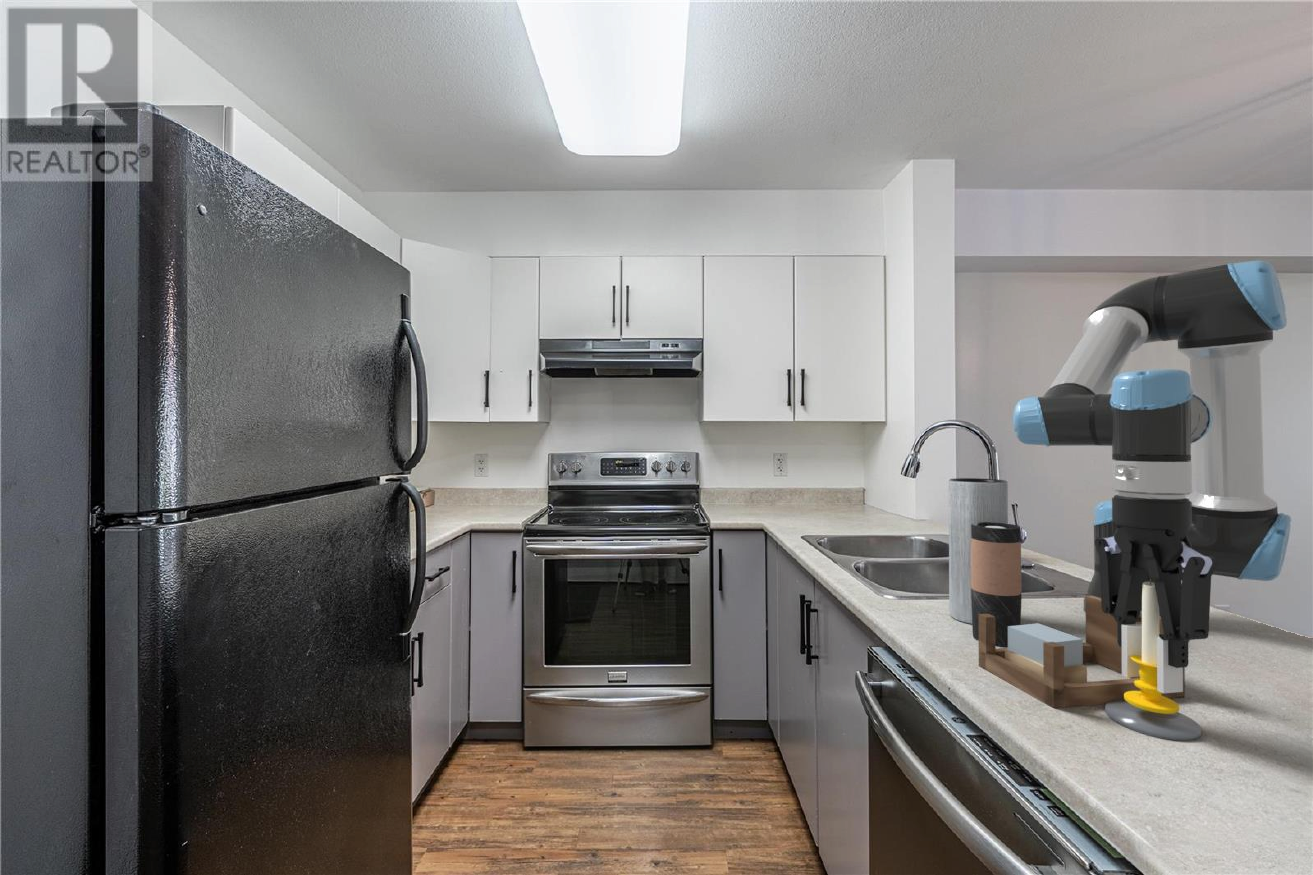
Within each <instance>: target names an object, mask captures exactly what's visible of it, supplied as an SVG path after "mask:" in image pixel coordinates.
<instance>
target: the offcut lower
mask: <svg viewBox="0 0 1313 875" xmlns="http://www.w3.org/2000/svg"><path fill="white" fill-rule="evenodd" d="M1004 648H1005V659H1006V660H1008V661H1010V662H1012V663H1013V664H1015V665H1017V666H1019V667H1021V668H1023V669H1025V670H1027V671H1029V672H1031V673H1033V674H1035V675H1037V676H1039V677H1041V678H1043V679H1044V671H1043V665H1042V664H1040V663H1037V662H1035V661H1033V660H1030V659H1028V658H1026V657H1023V656H1021V655H1019V654H1016V653H1014V652H1012V651H1009V650H1008V647H1004ZM1079 682H1088V666H1087V665H1085V664H1080V665H1072V666H1064V684H1065V683H1079Z"/></svg>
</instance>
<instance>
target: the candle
mask: <svg viewBox="0 0 1313 875" xmlns="http://www.w3.org/2000/svg"><path fill="white" fill-rule="evenodd" d="M1157 637H1159V605H1158V600H1157V595H1156V590H1155V584H1154V582H1151V579H1150V582H1143V587H1142V655H1134V656H1131V659H1132V660H1133V661H1135V662H1137V663H1139V667H1140V670H1139V675H1140V679H1137V680H1135V681H1134V685H1135V686H1136V687H1138V688H1140V689H1141V690H1140V691H1128V692H1125V693H1124V699H1125V700H1126V701H1127V702H1128V703H1129V704H1131V705H1133V706H1135V707H1138V708H1140V709H1143V710H1147V711H1151V712H1155V713H1162V714H1174V713H1177V712H1179V711H1180V706H1179V704H1178V703H1177V702H1175V701H1174V700H1173V699H1172V698H1171V699H1169V698H1166V697H1164V696H1162V695H1161V692H1159V691H1157Z"/></svg>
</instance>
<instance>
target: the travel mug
mask: <svg viewBox="0 0 1313 875" xmlns="http://www.w3.org/2000/svg"><path fill="white" fill-rule="evenodd" d="M1021 536H1022V532H1021V526H1019V525H1017V524H1012V523H1008V524H1006V523H994V522H980V523H978V524H977V525H973V524H971V604H972V624H971V627H972V637H973V638H974V639H975V640H977V641H978V642H979V614H990V615H992V616H994V617H995V644H996V647H1003V648H1008V626H1016V625H1022V624H1021V623H1022V592H1023V591H1022V590H1023V589H1022V587H1023V585H1022V537H1021Z"/></svg>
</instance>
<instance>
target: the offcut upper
mask: <svg viewBox="0 0 1313 875" xmlns="http://www.w3.org/2000/svg"><path fill="white" fill-rule="evenodd" d="M1043 642H1056V643H1058V644H1060V645H1063V646H1064V666H1072V665H1080V664H1082V665H1084V664H1083V663H1084V662H1083V643H1084V639H1083V638H1080V637H1078V636H1075V635H1073V634H1069V633H1066V632H1063V631H1060V630H1059V629H1058V630H1057V629H1055V628H1054V627H1053V628H1052V627H1050V626H1047V625H1045V624H1042V623H1038V622H1036V623H1028V624H1021V625H1016V626H1008V647H1007V648H1008V650H1009V651H1012V652H1014V653H1016V654H1019V655H1021V656H1023V657H1026V658H1028V659H1030V660H1033V661H1035V662H1037V663H1040V664H1042V665H1043Z"/></svg>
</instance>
